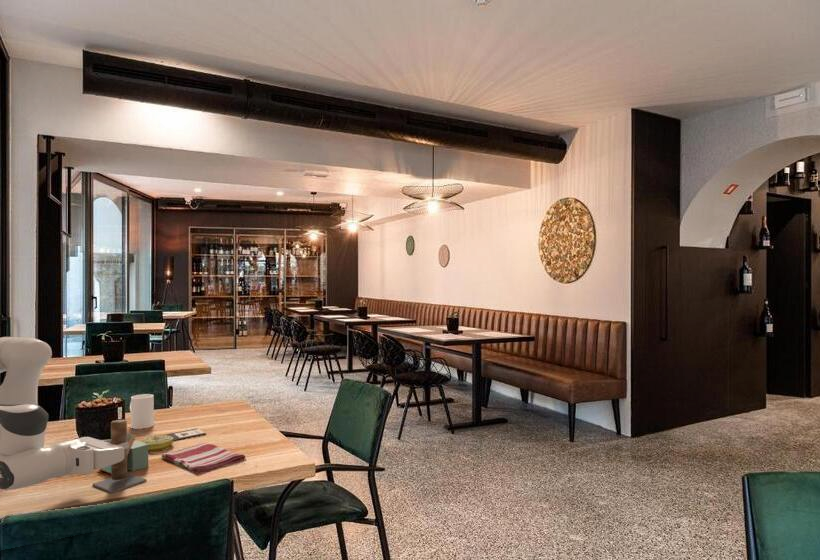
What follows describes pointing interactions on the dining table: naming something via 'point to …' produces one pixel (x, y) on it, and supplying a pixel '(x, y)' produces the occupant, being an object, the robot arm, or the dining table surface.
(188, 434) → the chocolate bar
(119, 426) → the dowel
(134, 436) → the tile
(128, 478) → the coaster
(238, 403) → the dining table surface
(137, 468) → the sage green block
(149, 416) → the mug
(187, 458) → the dish towel
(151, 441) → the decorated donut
